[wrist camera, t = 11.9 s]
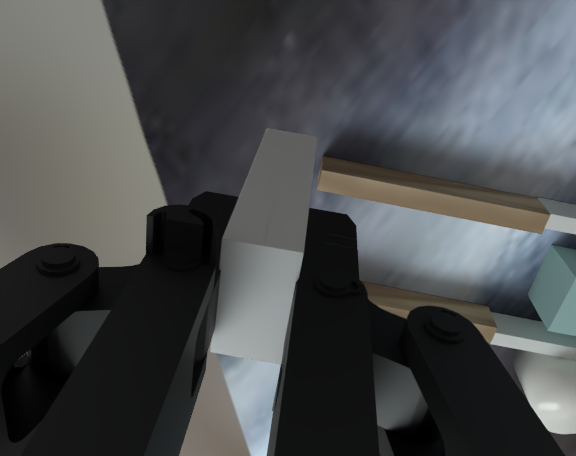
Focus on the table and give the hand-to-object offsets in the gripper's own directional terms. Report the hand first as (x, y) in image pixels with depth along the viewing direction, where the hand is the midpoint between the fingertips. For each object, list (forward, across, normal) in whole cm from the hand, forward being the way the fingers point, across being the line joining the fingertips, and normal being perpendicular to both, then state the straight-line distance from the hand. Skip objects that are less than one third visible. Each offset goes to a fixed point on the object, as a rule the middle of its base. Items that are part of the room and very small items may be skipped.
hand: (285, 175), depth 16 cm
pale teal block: (+24, +24, -15) cm, 37 cm away
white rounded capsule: (+24, +26, -24) cm, 42 cm away
